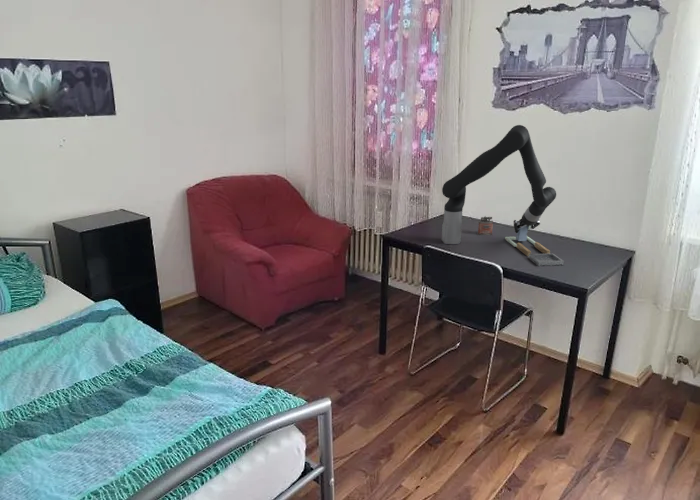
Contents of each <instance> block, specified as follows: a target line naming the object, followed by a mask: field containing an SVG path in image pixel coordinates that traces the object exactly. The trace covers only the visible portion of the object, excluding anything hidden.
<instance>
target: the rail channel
mask: <svg viewBox="0 0 700 500" xmlns="http://www.w3.org/2000/svg"><path fill="white" fill-rule="evenodd" d="M516 244H517V247H516V249H518V250H519V251H520V252H521V253H523V254H524V255H525V256H526V257H529V254H532V251H531V250H530V249H529V248H527V247H526V246H525V245H524V244H523V243H521V242H516ZM534 248H536V249H537V250H538V251H539V252H541V254H551V250H550V249H548V248H547V247H546V246H544V245H542V244H541V243H540V242H538V241H535V245H534Z"/></svg>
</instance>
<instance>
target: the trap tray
mask: <svg viewBox="0 0 700 500" xmlns="http://www.w3.org/2000/svg"><path fill="white" fill-rule="evenodd" d="M528 259H529V260H530V261H532V263H534V264H535V265H536V266H538V267H549V266H550V267H551V266H553V267H554V266H564V265H565V260H563V259H562V258H560V257H559V256H557V255H556V254H555V253H551V252H550V254H543V253H531V254H529V256H528Z"/></svg>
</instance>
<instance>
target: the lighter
mask: <svg viewBox="0 0 700 500" xmlns="http://www.w3.org/2000/svg"><path fill="white" fill-rule="evenodd" d="M493 223H494V221H493V216H486V215H485V216H480V220H478V227H477V236H478V235H479V236H493V226H494V224H493Z"/></svg>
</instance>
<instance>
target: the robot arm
mask: <svg viewBox="0 0 700 500" xmlns="http://www.w3.org/2000/svg"><path fill="white" fill-rule="evenodd" d="M517 151H519V153H520V157H521V160H522V164H523V169H524V174H525V175H526V178H527V180H528V182H529V184H530V189H531V194H532V199H533V201H532V202H531V203H530V204H529V206H528V207H527V208H526V209H525V211H524V212H523V214H522V215H521V218H520V219H519V220H517V219H514V220H513V228H514V232H515V233H516V234H517V233H518V232H519V230H520V229H521V228H524V227H525V226H528V231H530V230H534V229H536V228H537V227H538V226H540V225H541V221H540V218H541V217H542V214H543V213H544V212H545V211H546V209H547V208H548V207H549V206H550V205H551V204H552V203H553V202H554V201H555V199H557V191H556V189H555V188H553V187H552V186H546V187H544V186H545V184H546V183H547V178H546V176H545V174H544V172H543V170H542V167H541V166H540V163H539V161H538V159H537V156H536V153H535V149H534V147H533V144H532V140H531V136H530V132H529V130H528V129H527V128H526V126H524V125H521V124H517V125H514V126H513V127H511V128H510V130H508V132H507V133H506V134H505V135H504V137H503V138H502V139H501V140H500V141H499V142H498V143H496V144H495V145H494V146H492V148H489V149H487V150H485V151H483V152H482V153H480V154H479V155H478V156H477V157H476V158H475V159H474V160H472V162H470V163H469V164H468V165H467V166H465V167H464V168H463V169H462V170H461V171H460V172H459V173H457V174H456V175H455V176H453V177H452V178H449V179H448V180H447V181H445V183H443V185H442V187H441V193H442V195H443V197H445V198H447V199H448V200H447V202H446V203H445V204H444V206H443V207H444V209H443V210H444V212H443V223H442V225H441V227H442V228H441V230H442V231H441V241H442V243H443V244H447V245H459V244H460V243H461V239H462V238H461V237H462V224H463V223H462V222H463V209H464V206H465V202H466V194H467V192H466V191H467V186H468V185H470V184H472V183H474V182H476V181H478V180H480V179H482V178H483V177H485V176H486V175H488V174H489V173H490V172H492V171H493V170H494V169H495V168H496V167H498V165H500V164H501V162H503V161H504V160H505V159H506V158H507V157H509V156H511V155H512V154H514V153H515V152H517ZM528 231H527V233H528Z"/></svg>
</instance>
